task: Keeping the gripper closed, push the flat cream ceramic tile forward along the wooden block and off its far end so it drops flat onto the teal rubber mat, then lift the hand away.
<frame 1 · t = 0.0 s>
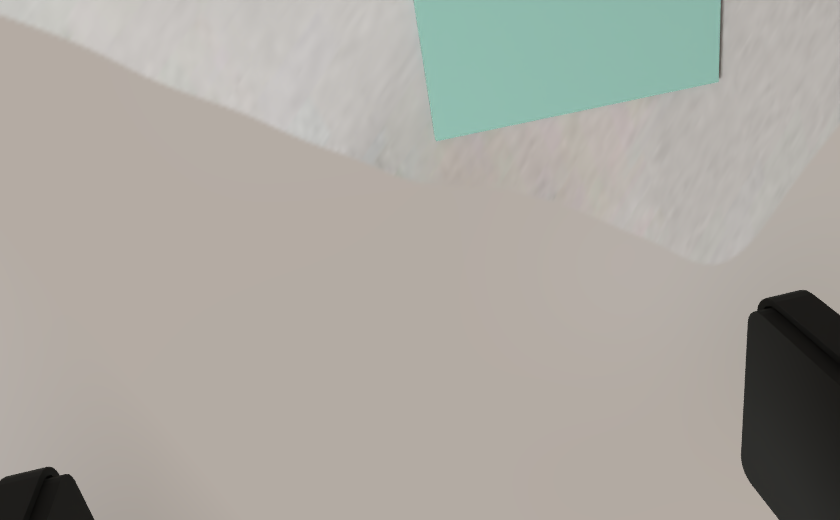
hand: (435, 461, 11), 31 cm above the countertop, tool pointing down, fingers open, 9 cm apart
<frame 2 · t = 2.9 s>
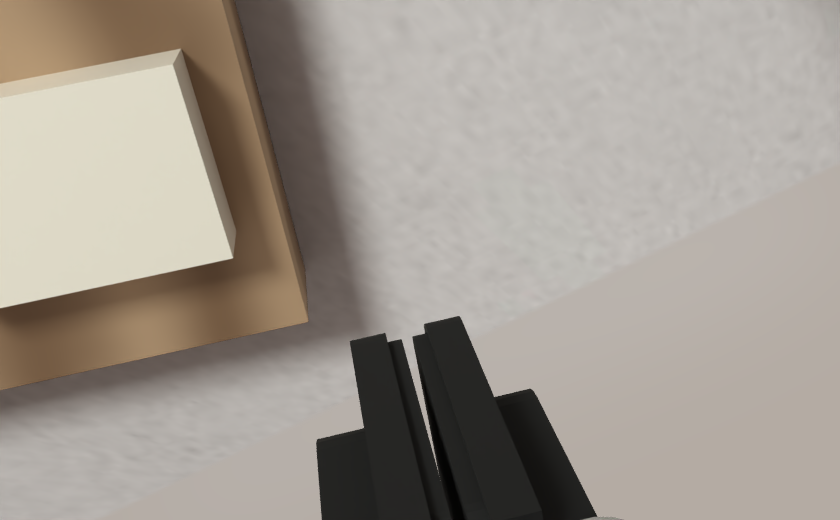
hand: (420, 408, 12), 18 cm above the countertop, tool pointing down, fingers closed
wooden block: (5, 151, 27), on the countertop
tile: (63, 175, 24), point 4 cm above the countertop, touching wooden block
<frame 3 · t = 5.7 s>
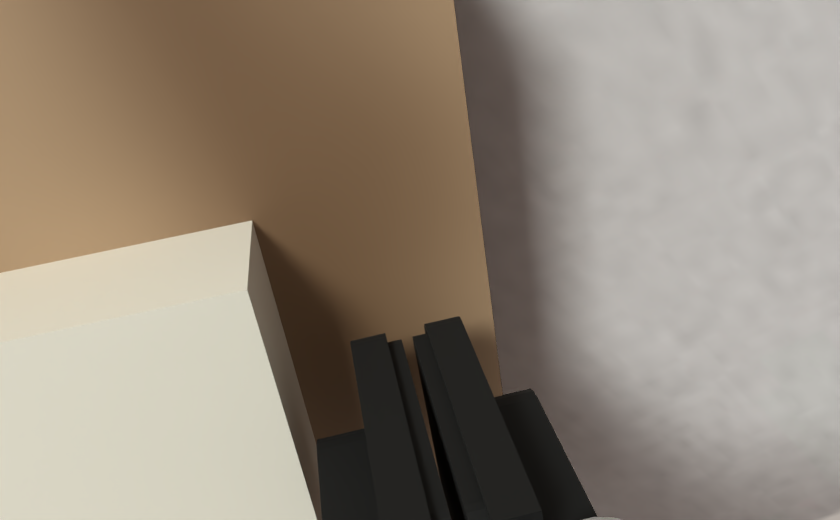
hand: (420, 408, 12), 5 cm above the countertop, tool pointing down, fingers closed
wooden block: (6, 334, 15), on the countertop
tile: (12, 454, 12), point 4 cm above the countertop, touching wooden block
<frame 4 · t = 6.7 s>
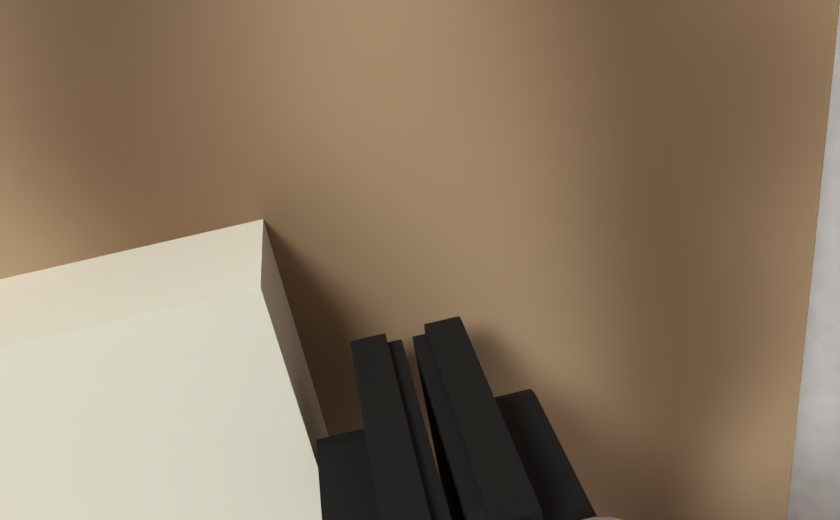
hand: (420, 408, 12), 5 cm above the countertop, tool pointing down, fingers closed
wooden block: (277, 279, 16), on the countertop
tile: (28, 457, 12), point 4 cm above the countertop, touching gripper
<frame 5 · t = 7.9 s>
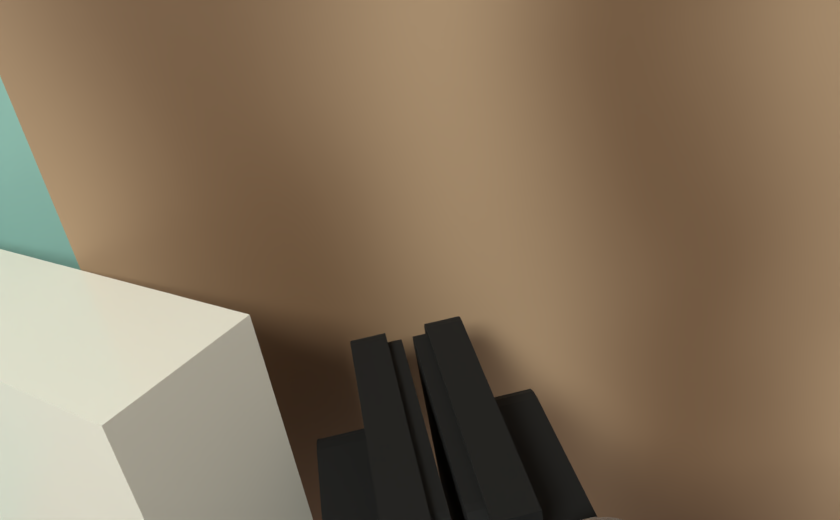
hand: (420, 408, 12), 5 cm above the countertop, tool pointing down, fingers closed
wooden block: (603, 212, 16), on the countertop
tile: (101, 417, 12), point 3 cm above the countertop, tilted 43°, touching gripper
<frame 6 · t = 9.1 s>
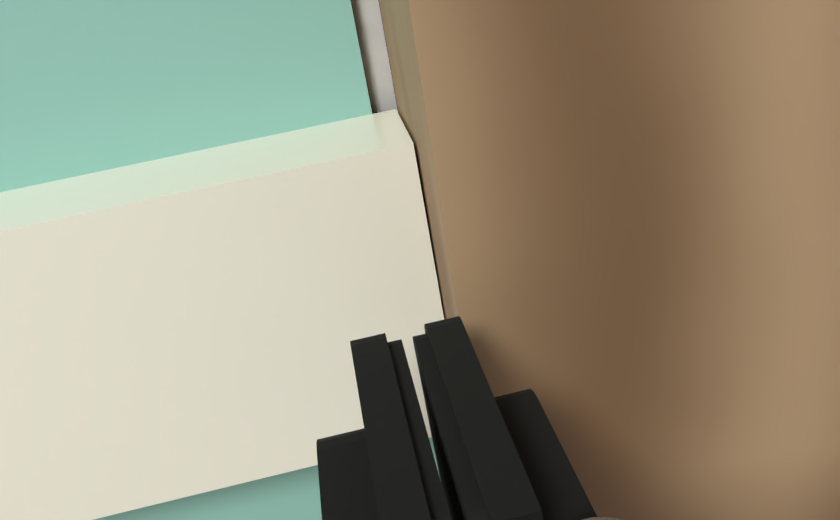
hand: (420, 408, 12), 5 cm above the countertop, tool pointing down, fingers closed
wooden block: (830, 165, 17), on the countertop
tile: (200, 302, 15), resting on mat
mat: (30, 341, 15), on the countertop
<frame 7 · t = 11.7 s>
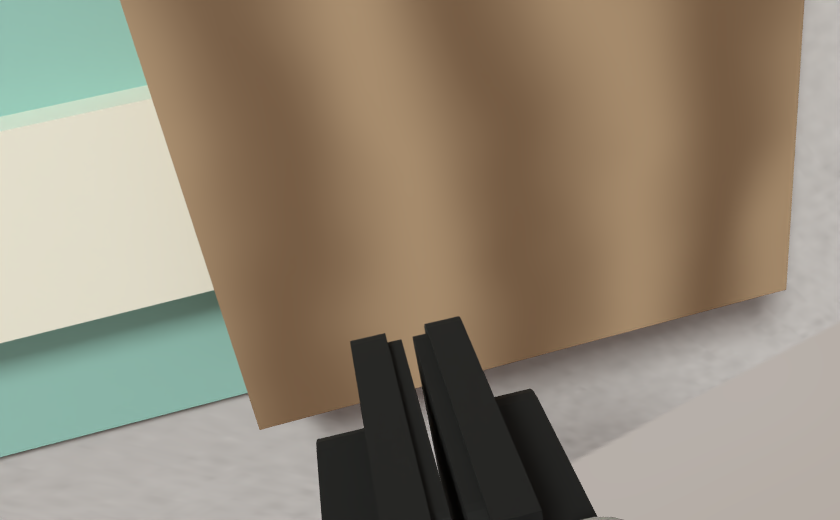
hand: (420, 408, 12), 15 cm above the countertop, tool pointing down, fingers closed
wooden block: (472, 117, 25), on the countertop
tile: (48, 210, 23), resting on mat
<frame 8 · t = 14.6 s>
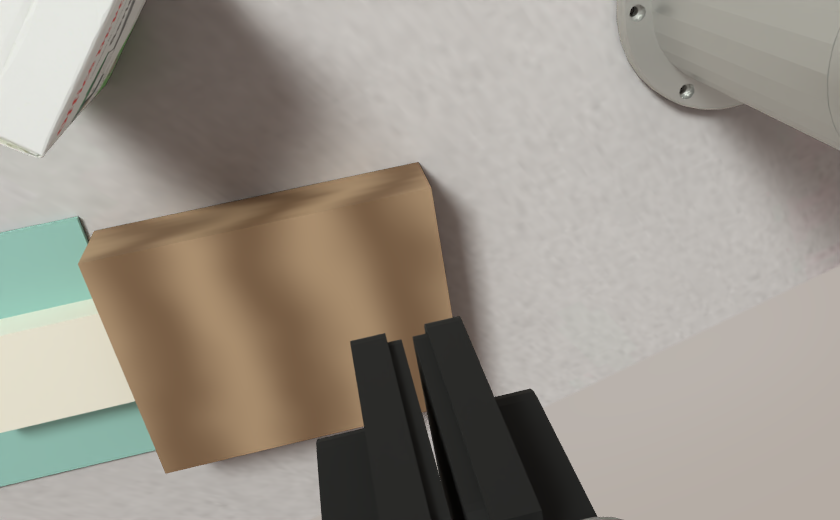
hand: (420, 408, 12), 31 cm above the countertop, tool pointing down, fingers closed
wooden block: (288, 303, 46), on the countertop
tile: (55, 355, 44), resting on mat
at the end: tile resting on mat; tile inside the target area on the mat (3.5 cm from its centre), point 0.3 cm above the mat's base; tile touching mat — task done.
